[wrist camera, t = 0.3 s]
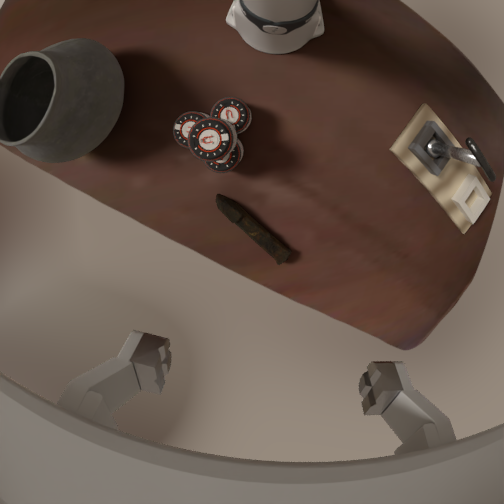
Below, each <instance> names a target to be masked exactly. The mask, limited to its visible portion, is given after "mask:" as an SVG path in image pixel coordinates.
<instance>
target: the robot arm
mask: <svg viewBox="0 0 504 504" xmlns="http://www.w3.org/2000/svg"><path fill="white" fill-rule="evenodd" d="M232 15H233V16H232ZM226 22H227V24H228V25H230V26H231V27H233V28H234V29H236V30H237V31H238V32H239V33H240V35H241V37H242V38H243V39H244V40H245V42H247V43H248V44H249V45H250V46H252V47H253V48H255V49H257V50H259V51H262V52H266V53H271V54H284V53H289V52H292V51H295V50H297V49H299V48H301V47H302V46H303V45H305V44H306V43H307V42H308V41H309V40H310V39H312V38H315V37H318V36H320V35H322V34H323V33H324V23H323V17H322V11H321V6H320V1H319V0H234V1H233V3H232V6H231V8H230V10H229V13H228V15H227V17H226ZM318 25H319V26H318ZM169 347H170V340H169V339H168V338H164V337H160V336H156V335H152V334H148V333H144V332H140V331H136V330H133V331H132V332H131V333H130V335H129V337H128V339H127V340H126V342H125V344H124V346H123V348H122V349H121V351H120V353H119V355H118V357H117V358H115V357H113V358H111V359H109V360H107V361H106V362H104V363H102V364H100V365H99V366H97V367H95V368H93V369H91V370H89V371H87V372H85V373H84V374H82V375H80V376H78V377H76V378H74V379H72V380H71V381H70V382H69V383H68V385H67V387H66V389H65V390H64V392H63V394H62V395H61V397H60V399H59V401H58V403H57V404H55V403H53V402H51V401H49V400H47V399H46V398H44V397H42V396H40V395H38V394H36V393H35V392H33V391H31V390H29V389H28V388H26V387H24V386H23V385H21V384H19V383H18V382H16V381H14V380H13V379H11V378H10V377H8V376H7V375H5V374H4V373H2V372H1V371H0V504H504V423H503V424H501V425H498V426H496V427H493V428H491V429H488V430H486V431H483V432H480V433H478V434H475V435H472V436H469V437H466V438H463V439H460V440H456V437H455V434H454V431H453V428H452V425H451V422H450V420H449V418H448V417H447V416H446V415H445V414H444V413H442V412H441V411H440V410H439V409H438V408H437V407H436V406H435V405H433V404H432V403H431V402H430V401H429V400H428V399H427V398H425V397H424V396H423V395H422V394H421V393H420V392H419V391H418V390H414V388H413V386H412V383H411V380H410V378H409V375H408V372H407V369H406V367H405V364H404V363H403V362H402V361H394V362H391V361H390V362H389V361H386V362H384V361H383V362H382V361H380V362H371V363H369V365H368V366H367V369H368V371H367V372H365V373H364V374H363V375H362V377H361V378H360V382H359V393H360V395H361V396H362V397H363V398H364V399H363V401H362V407H363V412H364V415H381V416H382V417H383V419H384V420H385V421H386V422H387V424H388V425H389V426H390V428H391V429H392V430H393V431H394V432H395V434H396V435H397V436H398V438H399V439H400V440H401V441H402V442H403V444H402V445H401V446H400V447H398V448H397V449H396V450H395V452H394V453H395V455H392V456H385V457H378V458H370V459H361V460H351V461H335V462H275V461H261V460H250V459H240V458H233V457H225V456H218V455H213V454H207V453H201V452H196V451H191V450H186V449H181V448H178V447H173V446H169V445H165V444H161V443H158V442H154V441H150V440H147V439H143V438H140V437H137V436H134V435H131V434H128V433H124V432H121V431H118V430H117V429H118V425H117V423H116V421H115V420H114V418H113V416H112V413H113V412H115V411H116V410H117V409H119V408H120V407H121V406H123V405H124V404H125V403H126V402H127V401H129V400H130V399H131V398H133V397H134V396H135V395H137V394H138V393H139V392H140V391H141V390H143V391H147V392H151V393H155V394H161V392H162V389H163V386H164V384H165V380H164V376H165V375H167V374H168V372H169V370H170V366H171V352H170V351H169Z"/></svg>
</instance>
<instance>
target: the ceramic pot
mask: <svg viewBox="0 0 504 504" xmlns="http://www.w3.org/2000/svg"><path fill="white" fill-rule="evenodd" d="M123 99H124V76H123V72H122V70H121V67H120V65H119V63H118V61H117V59H116V58H115V56H114V55H113V54H112V53H111V52H110V51H109V50H108V49H107V48H106V47H105V46H103V45H102V44H100V43H99V42H97V41H94V40H90V39H85V38H81V39H71V40H66V41H62V42H59V43H57V44H54V45H51V46H49V47H47V48H45V49H43V50H41V51H31V52H26V53H22V54H20V55H19V56H17V57H15V58H14V59H13V60H12V61H11V62H10V63H9V64H8V65H7V66H6V68H5V69H4V71H3V73H2V75H1V76H0V142H1V143H3V144H5V145H8V146H16V148H17V149H18V150H20V151H21V152H22V153H23V154H25V155H27V156H28V157H30V158H33V159H35V160H38V161H42V162H49V163H59V162H66V161H71V160H74V159H77V158H79V157H82V156H83V155H85V154H87V153H88V152H90V151H92V150H93V149H95V148H96V147H97V146H98V145H99V144H100V143H101V142H102V141H103V140H104V139H105V138H106V137H107V136H108V134H109V133H110V132H111V130H112V128H113V127H114V125H115V124H116V122H117V120H118V117H119V115H120V112H121V109H122V106H123Z"/></svg>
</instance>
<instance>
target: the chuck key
mask: <svg viewBox="0 0 504 504" xmlns="http://www.w3.org/2000/svg"><path fill="white" fill-rule="evenodd" d="M465 143H466V145H467V147H468V148H469V149H470V150H468V149H463V148H459V147H454V146H449V145H444V144H441V143H440V142H439V141H438V140H435V139H430V140H429V141H428V143H427V144H426V146H425V147H424V148H423V150H424V151H425V152H426V153H427V154H428V155H429V156H431V157H435V158H437V157H439V156H444V157H448V158H451V159H455V160H459V161H462V162H465V163H469V164H472V165H475V166H478V167H482V169H483V171H484V172H485V174H486V176H487V177H488V179H489V180H490V181H492V182H493V181H495V179H496V175H495V174H494V172H493V170H492V168H491V167H490V165H489V163H488V162H487V160H486V159H485V157H484V155H483V154H482V152H481V151H480V149H479V148H478V146H477V145H476V143H475V142H474V140H473V139H472V138H470V137H469V138H467V139H466V141H465Z"/></svg>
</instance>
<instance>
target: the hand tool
mask: <svg viewBox="0 0 504 504" xmlns="http://www.w3.org/2000/svg"><path fill="white" fill-rule="evenodd" d="M216 203H217V206H218V208H219V210H220V211H221V212H222V213H223V214H224V215H225V216H226V217H227V218H228V219H229V220H230V221H231V222H232V223H235V224H236V225H237V226H239V227H240V228H241V229H242V230H243V231H244V232H245V233H246V234H247V235H248V236H249V237H251V238H252V239H253V240H254V241H255V242H256V243H257V244H258V245H259V246H260V247H262V248H263V249H264V250H265V251H266V252H267V253H268V254H270V255H271V256H272V257H273V258H274V259H275V260H276V262H277V264H278V265H280V264H282V263H283V262H284V261H286V260H287V259H288V257H289V256H290V254H291V250H290V249H289V248H286V247H285V245H284V244H281V243H280V242H279V241H278V240H277V239H276V238H275V237H274V236H273V235H271V234H270V233H269V232H268V231H267V230H266V229H265V228H264V227H262V226H261V225H260V224H259V223H258V222H257V221H255V220H254V219H253V218H252V217H251V216H250V215H249V214H248V213H246V212H245V211H244V210H243V208H242V207H241V206H240V205H238V204H237V203H235V202H234V201H232V200H230V199H228V198H227V197H225V196H222V195H220V194H217V195H216Z"/></svg>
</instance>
